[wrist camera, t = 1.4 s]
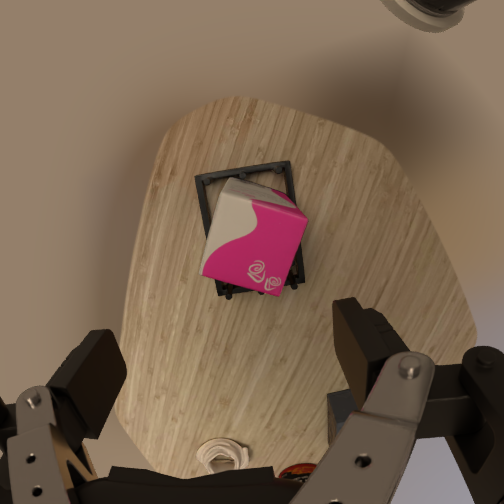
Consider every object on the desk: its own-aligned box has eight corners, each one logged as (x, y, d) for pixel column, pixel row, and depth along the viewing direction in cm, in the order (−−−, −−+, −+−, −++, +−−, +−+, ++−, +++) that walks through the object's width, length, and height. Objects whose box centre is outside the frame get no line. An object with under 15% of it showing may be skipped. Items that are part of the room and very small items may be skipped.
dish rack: (196, 175, 29) (189, 177, 26) (288, 160, 29) (294, 160, 25) (219, 291, 33) (215, 308, 29) (303, 278, 33) (310, 294, 29)
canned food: (325, 459, 42) (338, 513, 31) (319, 483, 44) (328, 531, 34) (278, 464, 42) (284, 520, 31) (276, 487, 44) (280, 537, 34)
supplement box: (212, 233, 31) (194, 275, 20) (229, 175, 30) (220, 185, 19) (268, 250, 32) (280, 299, 21) (287, 193, 30) (312, 214, 19)
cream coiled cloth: (203, 458, 42) (198, 482, 38) (191, 436, 40) (186, 462, 35) (252, 458, 42) (251, 483, 37) (246, 436, 39) (244, 464, 35)
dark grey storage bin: (327, 393, 37) (336, 423, 32) (401, 375, 37) (417, 401, 32) (327, 441, 40) (335, 469, 35) (393, 424, 40) (405, 449, 35)
